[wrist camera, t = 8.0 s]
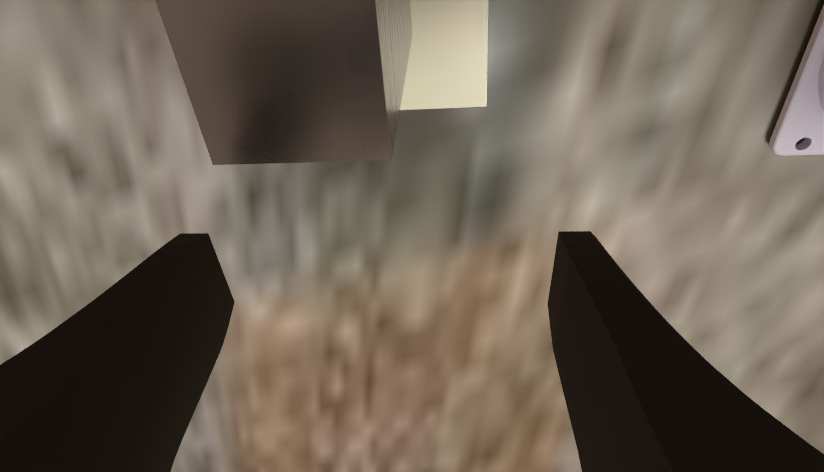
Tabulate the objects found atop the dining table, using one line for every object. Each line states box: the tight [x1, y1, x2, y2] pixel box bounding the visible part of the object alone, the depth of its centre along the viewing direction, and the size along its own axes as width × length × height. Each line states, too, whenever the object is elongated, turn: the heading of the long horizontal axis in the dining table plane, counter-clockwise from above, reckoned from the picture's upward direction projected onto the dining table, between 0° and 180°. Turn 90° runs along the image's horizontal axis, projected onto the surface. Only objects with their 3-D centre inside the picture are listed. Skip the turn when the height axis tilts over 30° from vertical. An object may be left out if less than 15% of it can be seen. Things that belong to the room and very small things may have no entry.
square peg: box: [156, 0, 412, 165], centre depth 13 cm, size 4×4×8 cm
